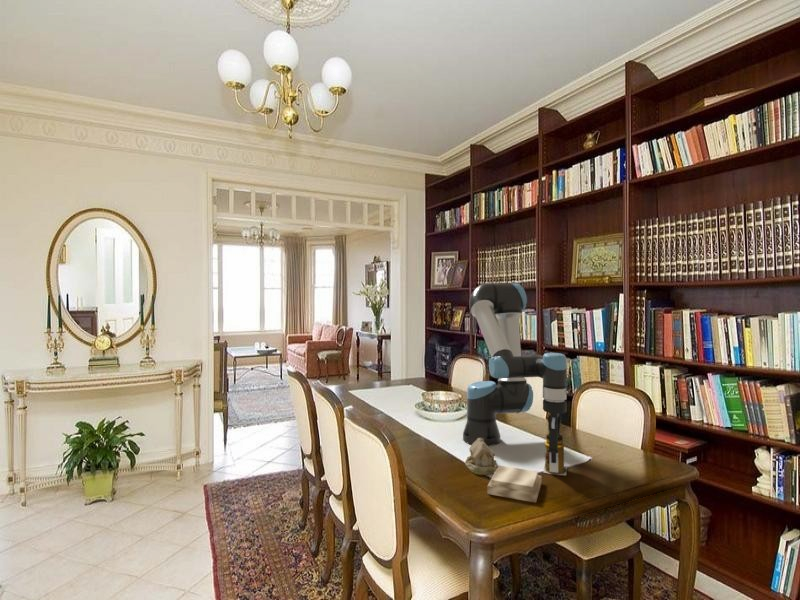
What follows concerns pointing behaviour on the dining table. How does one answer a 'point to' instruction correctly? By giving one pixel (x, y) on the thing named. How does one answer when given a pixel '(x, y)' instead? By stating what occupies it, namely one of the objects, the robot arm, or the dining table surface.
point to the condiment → (561, 468)
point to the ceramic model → (481, 458)
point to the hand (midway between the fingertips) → (554, 467)
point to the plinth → (515, 492)
